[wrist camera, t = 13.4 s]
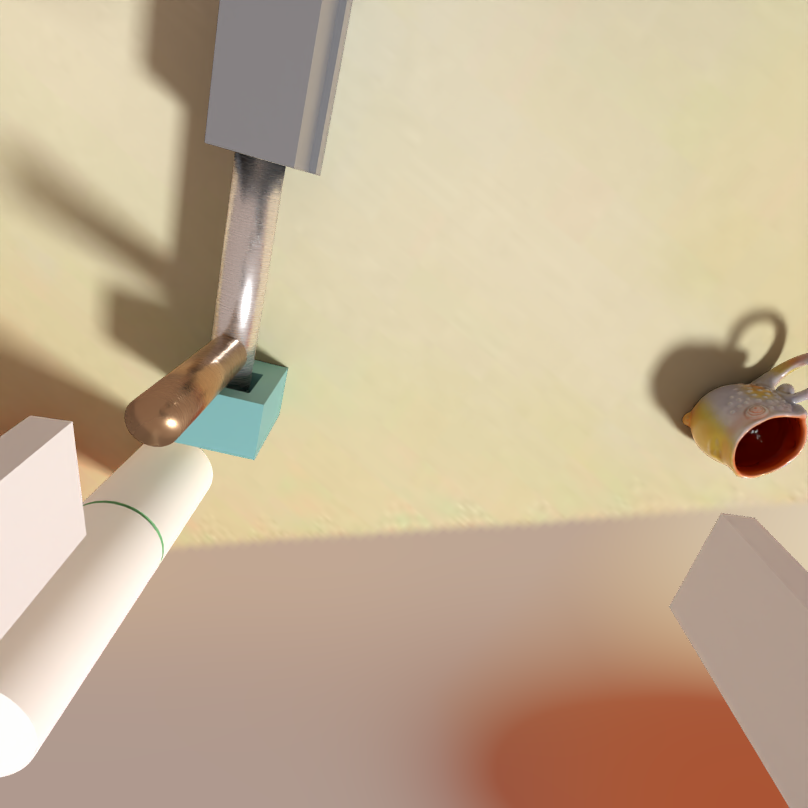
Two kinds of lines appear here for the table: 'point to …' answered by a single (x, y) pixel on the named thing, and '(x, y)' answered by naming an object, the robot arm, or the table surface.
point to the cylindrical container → (93, 591)
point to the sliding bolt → (221, 312)
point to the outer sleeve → (276, 78)
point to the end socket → (240, 415)
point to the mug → (752, 422)
